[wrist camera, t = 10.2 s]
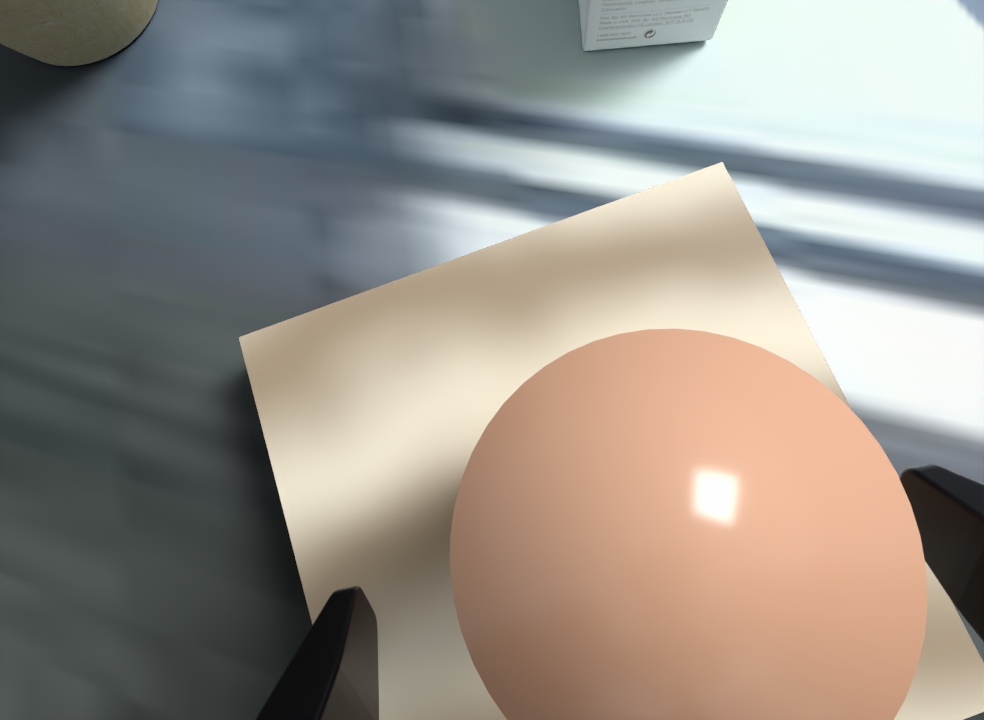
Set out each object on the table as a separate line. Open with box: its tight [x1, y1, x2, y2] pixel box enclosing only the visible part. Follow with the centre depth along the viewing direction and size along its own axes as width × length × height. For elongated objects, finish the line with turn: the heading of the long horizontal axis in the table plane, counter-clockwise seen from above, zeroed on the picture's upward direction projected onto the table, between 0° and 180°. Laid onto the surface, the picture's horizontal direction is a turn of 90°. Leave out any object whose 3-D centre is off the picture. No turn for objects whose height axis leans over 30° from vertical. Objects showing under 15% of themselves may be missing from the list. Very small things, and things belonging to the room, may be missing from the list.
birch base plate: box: [239, 162, 984, 720], centre depth 18 cm, size 18×18×2 cm
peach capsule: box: [450, 329, 928, 720], centre depth 11 cm, size 5×5×11 cm
